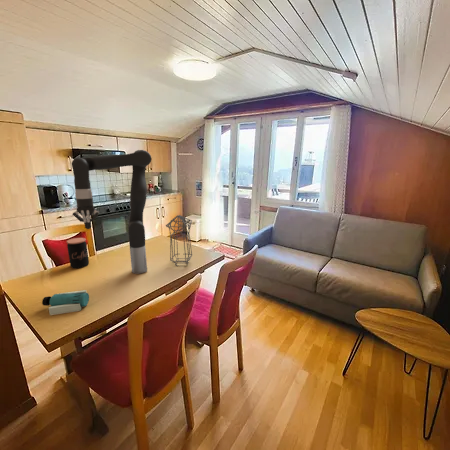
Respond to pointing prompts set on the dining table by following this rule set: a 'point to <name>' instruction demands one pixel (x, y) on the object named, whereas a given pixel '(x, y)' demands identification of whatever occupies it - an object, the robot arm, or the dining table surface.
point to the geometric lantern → (178, 236)
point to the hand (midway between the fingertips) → (88, 228)
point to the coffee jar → (77, 253)
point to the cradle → (66, 306)
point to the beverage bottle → (66, 299)
